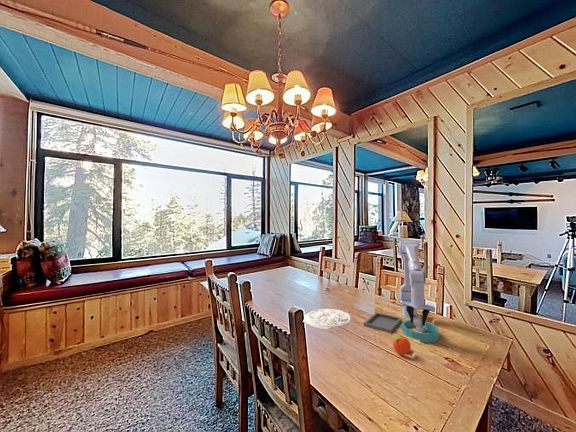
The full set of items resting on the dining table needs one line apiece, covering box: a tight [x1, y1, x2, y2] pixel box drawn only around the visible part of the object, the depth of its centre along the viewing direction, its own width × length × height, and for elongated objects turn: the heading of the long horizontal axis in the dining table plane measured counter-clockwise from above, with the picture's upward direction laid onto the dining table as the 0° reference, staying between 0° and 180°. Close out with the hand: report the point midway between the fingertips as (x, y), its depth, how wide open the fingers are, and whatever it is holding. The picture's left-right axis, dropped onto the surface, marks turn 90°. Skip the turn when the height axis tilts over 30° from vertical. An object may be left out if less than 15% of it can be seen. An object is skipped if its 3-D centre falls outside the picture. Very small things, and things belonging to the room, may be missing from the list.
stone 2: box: [415, 323, 427, 333], centre depth 129 cm, size 4×4×4 cm
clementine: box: [392, 335, 412, 355], centre depth 110 cm, size 8×7×7 cm
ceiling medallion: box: [303, 308, 352, 331], centre depth 147 cm, size 28×28×3 cm
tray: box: [363, 312, 403, 334], centre depth 138 cm, size 18×14×2 cm
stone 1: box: [413, 314, 423, 328], centre depth 124 cm, size 4×4×4 cm
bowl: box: [401, 319, 440, 344], centre depth 126 cm, size 16×16×4 cm
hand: (418, 323), depth 124 cm, fingers closed on stone 1, 4 cm apart
